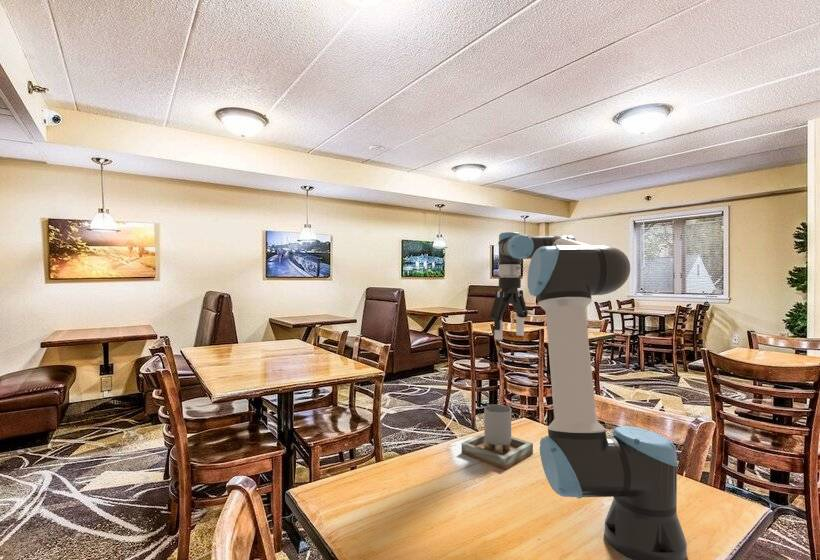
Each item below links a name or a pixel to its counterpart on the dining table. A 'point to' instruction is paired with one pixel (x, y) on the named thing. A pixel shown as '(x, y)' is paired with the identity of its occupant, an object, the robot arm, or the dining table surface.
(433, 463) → the dining table surface
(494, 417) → the cup
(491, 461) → the grey square tray
